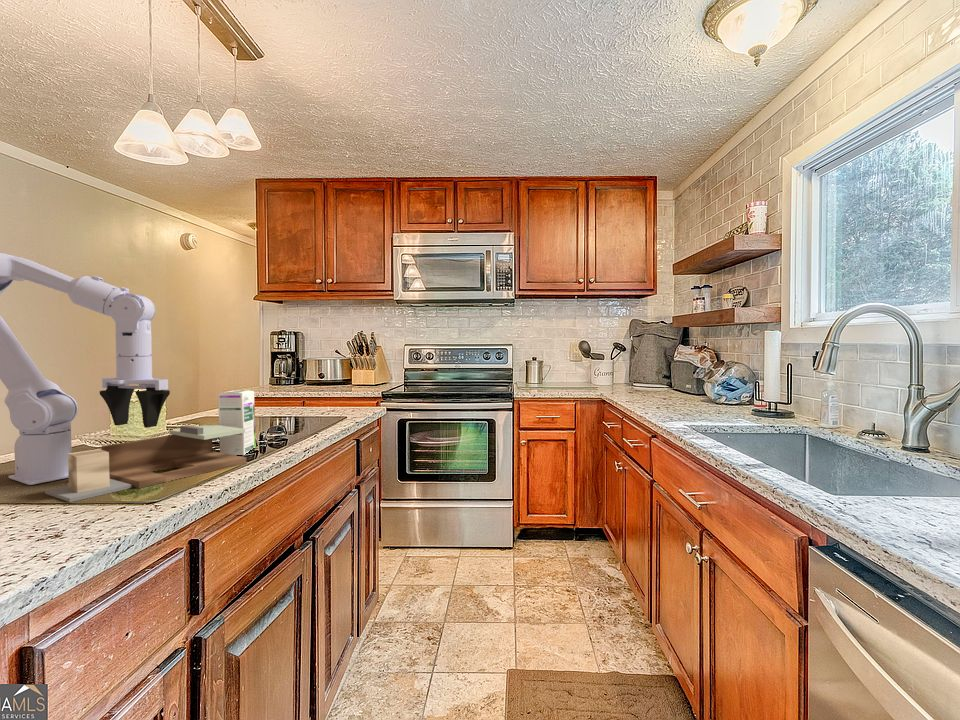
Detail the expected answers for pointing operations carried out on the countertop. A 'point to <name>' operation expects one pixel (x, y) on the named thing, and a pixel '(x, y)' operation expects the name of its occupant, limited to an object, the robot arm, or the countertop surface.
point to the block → (88, 470)
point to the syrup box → (237, 421)
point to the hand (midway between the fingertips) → (135, 425)
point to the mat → (71, 495)
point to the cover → (206, 431)
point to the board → (164, 459)
